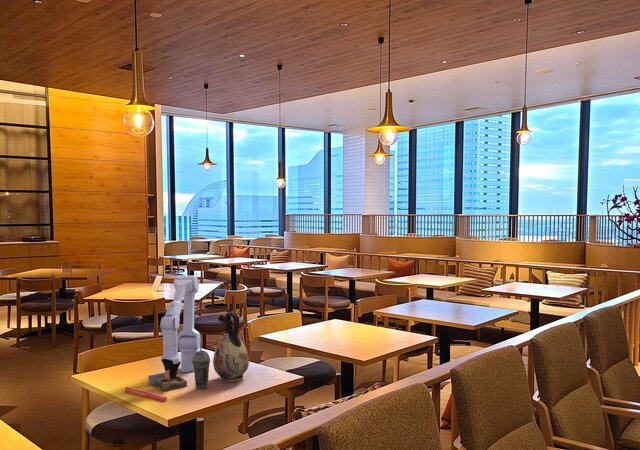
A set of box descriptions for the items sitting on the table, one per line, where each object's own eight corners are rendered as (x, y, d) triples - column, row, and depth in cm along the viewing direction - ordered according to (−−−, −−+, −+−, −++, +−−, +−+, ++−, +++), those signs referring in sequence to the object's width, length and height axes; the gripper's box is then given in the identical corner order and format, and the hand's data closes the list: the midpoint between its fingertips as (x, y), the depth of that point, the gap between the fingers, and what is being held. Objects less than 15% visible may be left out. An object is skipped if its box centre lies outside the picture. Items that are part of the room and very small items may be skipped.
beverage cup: (194, 392, 196) (193, 343, 196) (190, 387, 203) (189, 339, 203) (212, 389, 200) (211, 340, 199) (208, 384, 206) (207, 337, 206)
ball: (174, 378, 209) (174, 366, 209) (178, 381, 205) (178, 369, 205) (163, 380, 206) (162, 368, 206) (166, 384, 202) (166, 371, 202)
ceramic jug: (206, 379, 212) (204, 311, 212) (234, 371, 224) (233, 306, 223) (229, 388, 201) (228, 315, 200) (259, 379, 212) (257, 310, 212)
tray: (179, 380, 213) (179, 375, 212) (186, 386, 204) (186, 381, 204) (155, 384, 207) (155, 379, 207) (162, 391, 199) (162, 386, 199)
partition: (175, 378, 215) (175, 369, 215) (178, 380, 212) (177, 371, 212) (147, 384, 208) (147, 374, 208) (149, 386, 205) (149, 376, 205)
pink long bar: (131, 392, 202) (121, 391, 198) (132, 386, 203) (123, 386, 199) (170, 402, 189) (161, 402, 185) (172, 397, 190) (162, 396, 186)
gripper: (155, 342, 209) (156, 374, 209) (166, 349, 197) (166, 383, 197) (172, 340, 213) (172, 371, 213) (183, 347, 201) (183, 380, 201)
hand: (171, 377), depth 206 cm, fingers closed on ball, 5 cm apart
